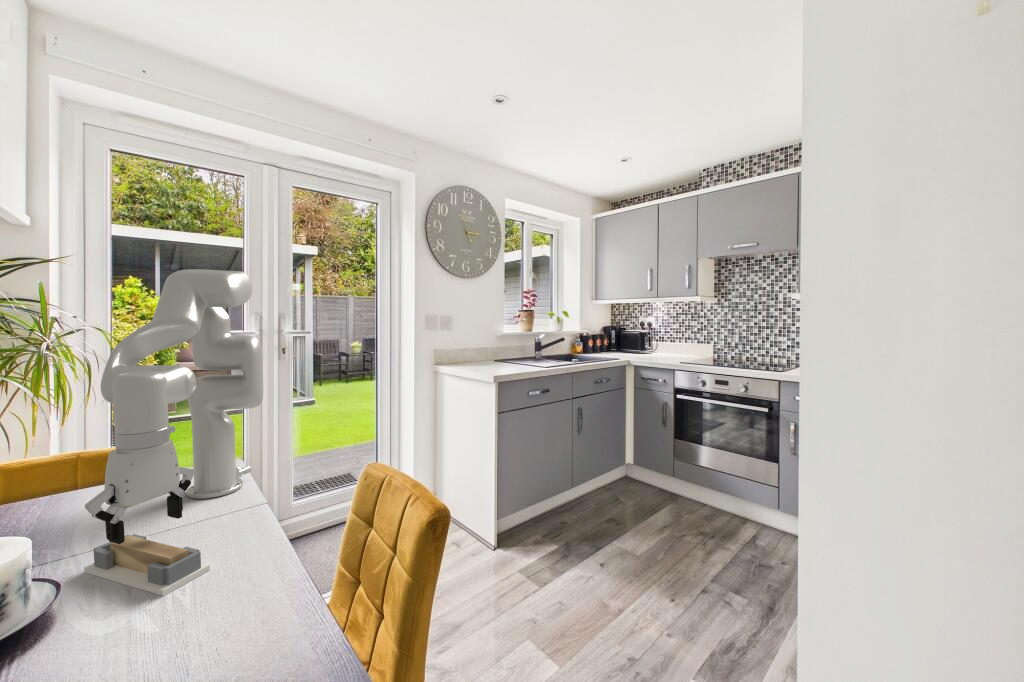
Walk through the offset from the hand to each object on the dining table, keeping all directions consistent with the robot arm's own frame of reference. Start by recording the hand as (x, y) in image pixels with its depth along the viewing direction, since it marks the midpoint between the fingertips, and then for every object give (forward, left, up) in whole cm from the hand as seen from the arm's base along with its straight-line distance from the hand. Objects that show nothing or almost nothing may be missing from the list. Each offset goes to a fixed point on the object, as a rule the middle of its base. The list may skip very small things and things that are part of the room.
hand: (147, 528), depth 80 cm
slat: (+1, +1, -7) cm, 7 cm away
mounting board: (0, 0, -8) cm, 8 cm away
